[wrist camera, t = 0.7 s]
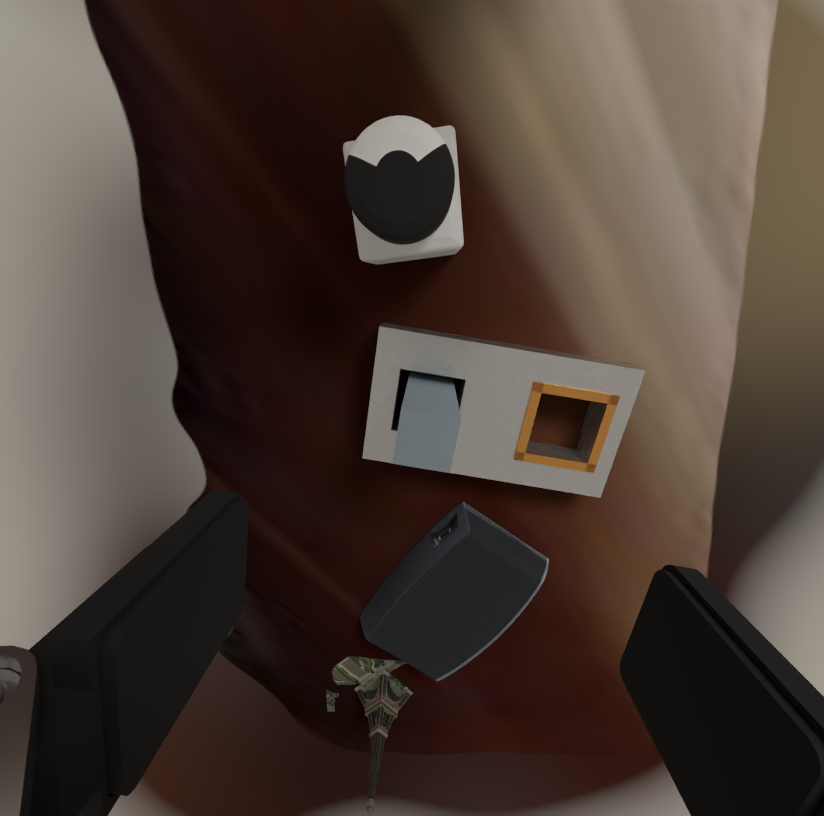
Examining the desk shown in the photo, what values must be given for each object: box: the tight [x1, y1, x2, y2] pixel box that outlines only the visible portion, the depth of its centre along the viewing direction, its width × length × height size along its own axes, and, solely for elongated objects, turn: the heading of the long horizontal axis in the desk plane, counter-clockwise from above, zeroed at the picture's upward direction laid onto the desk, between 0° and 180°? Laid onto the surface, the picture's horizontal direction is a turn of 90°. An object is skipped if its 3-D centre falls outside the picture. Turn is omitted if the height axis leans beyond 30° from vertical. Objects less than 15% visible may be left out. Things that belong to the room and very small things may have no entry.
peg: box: [392, 371, 461, 473], centre depth 32 cm, size 4×4×11 cm
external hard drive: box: [360, 502, 549, 681], centre depth 42 cm, size 13×19×4 cm
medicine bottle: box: [343, 115, 464, 265], centre depth 26 cm, size 7×7×12 cm
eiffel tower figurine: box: [326, 656, 413, 815], centre depth 43 cm, size 15×10×13 cm
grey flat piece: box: [362, 323, 645, 498], centre depth 35 cm, size 12×22×3 cm, turn 81°
